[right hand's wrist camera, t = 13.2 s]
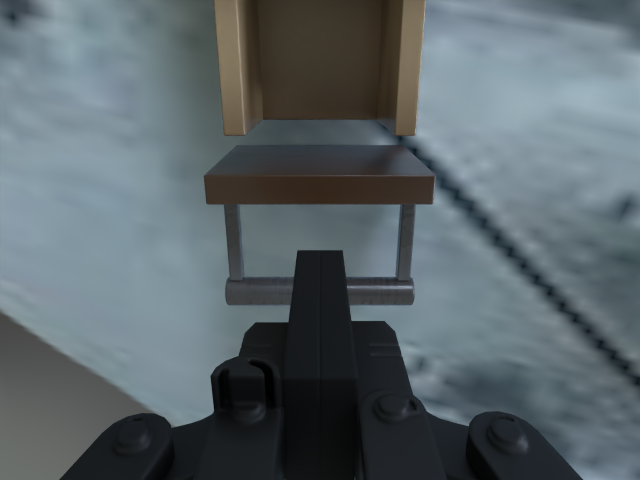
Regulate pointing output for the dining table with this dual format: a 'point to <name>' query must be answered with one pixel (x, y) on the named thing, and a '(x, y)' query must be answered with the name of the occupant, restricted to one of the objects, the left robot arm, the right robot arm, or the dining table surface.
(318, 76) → the drawer
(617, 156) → the dining table surface
